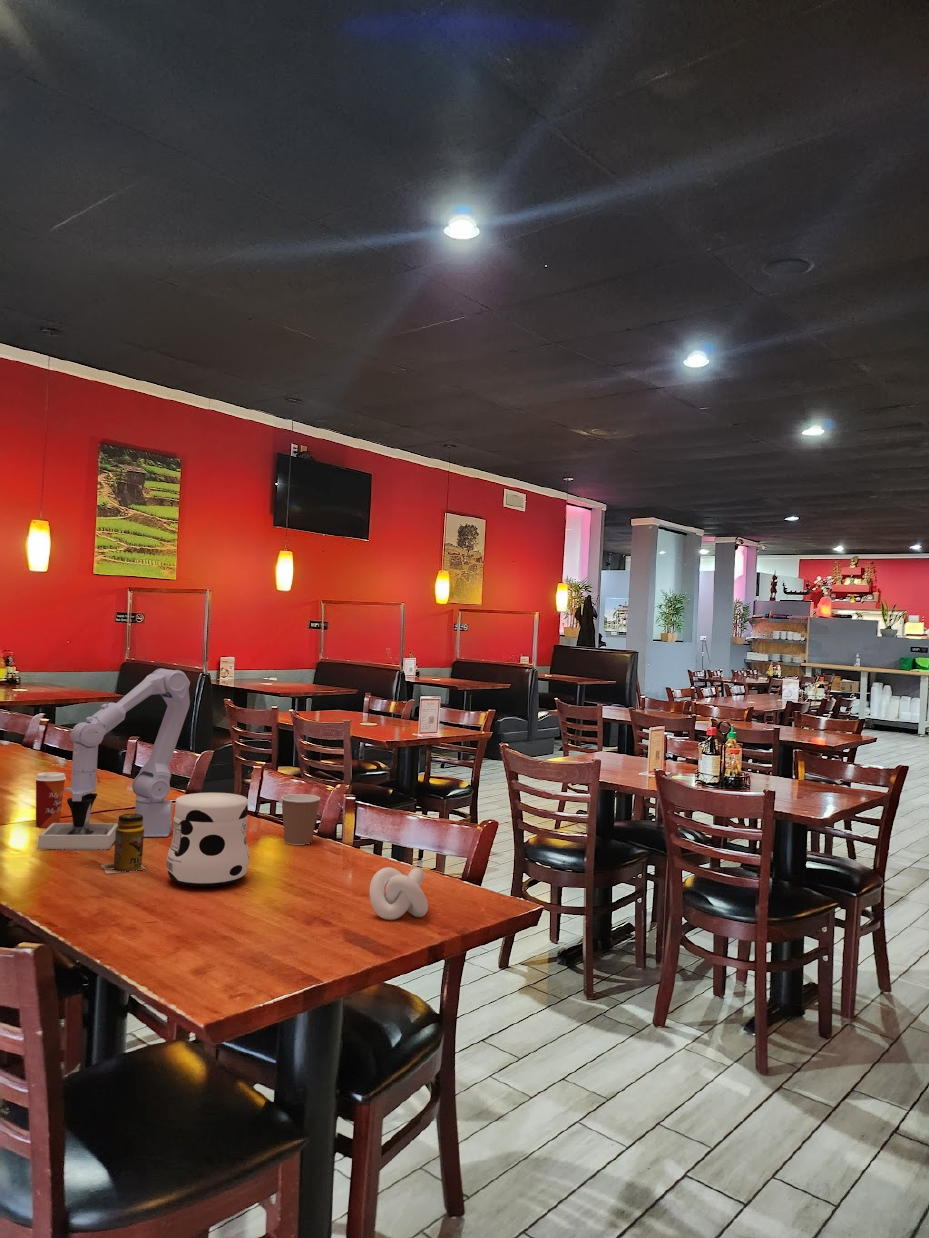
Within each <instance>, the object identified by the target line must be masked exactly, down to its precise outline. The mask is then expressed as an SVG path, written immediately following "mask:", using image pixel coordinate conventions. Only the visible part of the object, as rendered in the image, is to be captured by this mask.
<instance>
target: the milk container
mask: <svg viewBox="0 0 929 1238" xmlns="http://www.w3.org/2000/svg"><path fill="white" fill-rule="evenodd" d="M248 803H249V801H248V798H247V796H244V795H241V794H236V793H229V792H227V793H226V792H197V793H196V792H195V793H188V794H184V795H183V794H182V795H179V796H178V797H177V798H176V800H175V803H174V804H175V805H174V816H173V824H172V826H173V827H172V828H173V830H172V831H173V832H172V833H173V834H172V840H171V844H170V847H169V849H168V853H167V857H166V869H167V874H168V876H169V878H170V879H171V880H172V881H174V882H176V883H178V884H181V885H184V886H191V887H197V888H198V887H199V888H200V887H202V888H203V887H205V888H206V887H207V888H208V887H218V886H223V885H229V884H234V883H235V882H238V881H239V880H241V879H242V878H243V877H244V876H245V875H246V873H247V870H248V868H249V863H250V853H249V847H248V843H247V842H248V841H247V827H248V813H249V804H248Z"/></svg>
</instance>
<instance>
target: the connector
mask: <svg viewBox="0 0 929 1238" xmlns="http://www.w3.org/2000/svg"><path fill="white" fill-rule="evenodd" d="M90 809H91V810H92V808H91V804H90V806H89V808H88V811H87V815H86V820H85V824H84V826H83V827H74V824H73V818H72V819H71V820H72V822H71V823H72V833H71V835H89V824H90V823H91V822H90V820H91V811H90Z"/></svg>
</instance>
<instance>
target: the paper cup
mask: <svg viewBox="0 0 929 1238" xmlns="http://www.w3.org/2000/svg"><path fill="white" fill-rule="evenodd" d="M65 780H67V777H66V774H65V773H64V772H58V771H46V772H38V773H37V774H36V777H34V781H35V827H36V828H39V829H42V828H43V829H47V828H48V827H49V826H50V825H51V824H52V823H60V821H61V814H62V804H63V796H64V790H65V789H64V788H65V782H66V781H65Z"/></svg>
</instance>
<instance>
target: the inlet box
mask: <svg viewBox="0 0 929 1238" xmlns="http://www.w3.org/2000/svg"><path fill="white" fill-rule="evenodd" d="M117 827H118V822H113V823H111V822H108V823H107V822H105V823H104V822H90V824H89V835H71V833H72V822H59V823H52V824H51V825H50V826H49V827H48V828H45V829H44V830H43V831H42V832H41V833H40V834H38V838H37V839H38V840H37V850H38V849H45V850H44V851H47V850H46V849H52V850H51V851H54V850H53V849H56V850H55V851H108V850H110V849H111V847H112V846H113V845H114V844H115V836H116V828H117ZM112 844H113V845H112ZM57 849H59V850H57ZM60 849H61V850H60ZM64 849H65V850H64ZM75 849H76V850H75ZM98 849H99V850H98ZM103 849H104V850H103ZM107 849H108V850H107Z"/></svg>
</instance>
